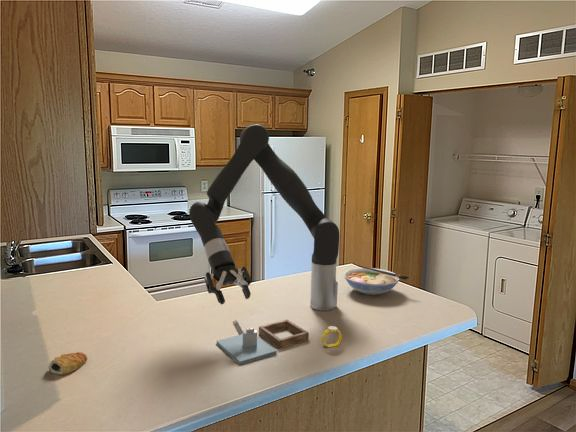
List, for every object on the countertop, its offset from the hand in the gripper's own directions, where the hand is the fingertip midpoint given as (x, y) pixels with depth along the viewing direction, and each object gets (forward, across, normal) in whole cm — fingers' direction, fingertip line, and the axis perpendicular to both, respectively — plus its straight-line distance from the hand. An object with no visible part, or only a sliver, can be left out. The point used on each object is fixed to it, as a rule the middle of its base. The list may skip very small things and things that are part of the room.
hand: (235, 300), depth 133 cm
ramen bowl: (+2, +68, +17) cm, 70 cm away
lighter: (+13, 0, +4) cm, 14 cm away
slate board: (+14, 0, +5) cm, 14 cm away
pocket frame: (+13, +14, +5) cm, 20 cm away
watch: (+23, +23, -4) cm, 32 cm away
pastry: (+2, -46, +16) cm, 49 cm away
